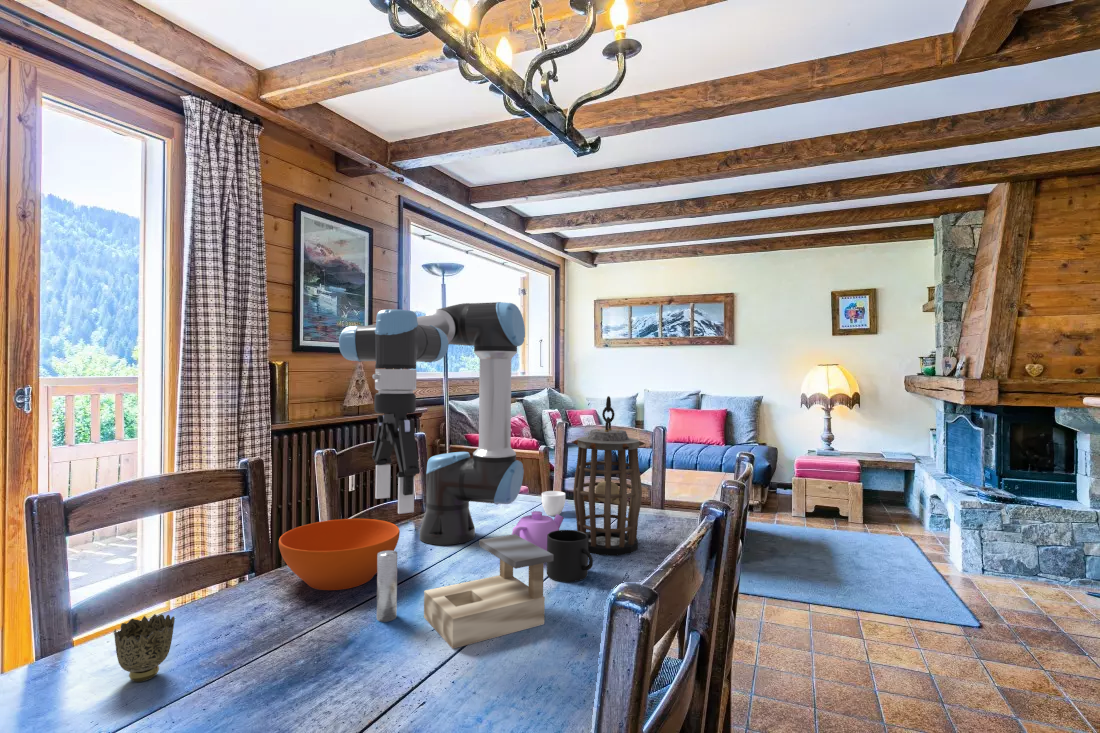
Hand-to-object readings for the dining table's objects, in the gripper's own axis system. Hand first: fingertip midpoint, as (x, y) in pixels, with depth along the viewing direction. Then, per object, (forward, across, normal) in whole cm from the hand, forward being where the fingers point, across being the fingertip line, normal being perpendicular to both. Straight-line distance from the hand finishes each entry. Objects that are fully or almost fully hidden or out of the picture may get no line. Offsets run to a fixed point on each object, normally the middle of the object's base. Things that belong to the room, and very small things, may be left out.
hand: (393, 505), depth 107 cm
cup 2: (+21, +1, -38) cm, 44 cm away
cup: (+21, -48, +69) cm, 87 cm away
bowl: (+21, -26, -3) cm, 33 cm away
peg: (+21, 0, -1) cm, 21 cm away
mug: (+21, 0, +41) cm, 46 cm away
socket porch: (+21, +10, +14) cm, 27 cm away
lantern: (+21, -13, +62) cm, 67 cm away
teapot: (+21, -18, +44) cm, 51 cm away
